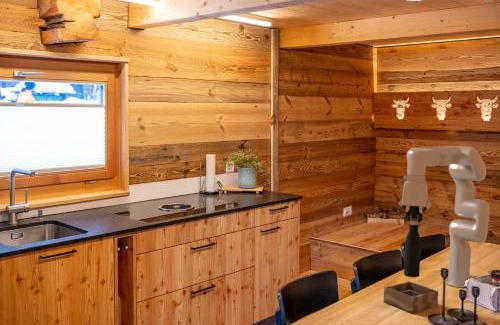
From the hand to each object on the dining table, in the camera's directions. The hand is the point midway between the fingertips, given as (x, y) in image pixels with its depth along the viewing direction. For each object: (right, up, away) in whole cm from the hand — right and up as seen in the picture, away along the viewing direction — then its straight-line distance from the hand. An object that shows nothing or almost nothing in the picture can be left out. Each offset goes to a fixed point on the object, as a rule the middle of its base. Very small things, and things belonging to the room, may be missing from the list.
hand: (414, 221), depth 247 cm
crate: (0, -37, +4) cm, 37 cm away
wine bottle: (0, -24, +3) cm, 24 cm away
